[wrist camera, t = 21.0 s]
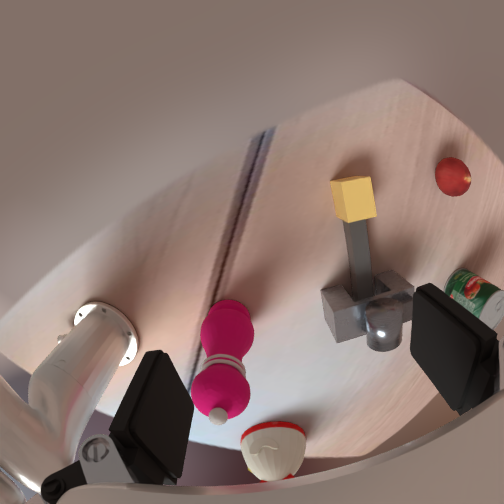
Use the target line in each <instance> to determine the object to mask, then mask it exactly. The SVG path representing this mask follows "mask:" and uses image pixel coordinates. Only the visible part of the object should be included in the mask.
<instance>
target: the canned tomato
mask: <svg viewBox="0 0 504 504" xmlns="http://www.w3.org/2000/svg"><path fill="white" fill-rule="evenodd" d="M443 292H444V293H446V294H447V295H448V296H450V297H451V298H453V299H454V300H455V301H457V302H458V303H459V304H461V305H462V306H463V307H464V308H466V309H467V310H468V311H470V312H471V313H472V314H474V315H475V316H476V317H477V318H479V319H480V320H481V321H482V322H484V323H485V324H486V325H487V326H489V327H490V328H491V329H492V330H494V329H495V328H496V327H497V325H498V324H499V323H500V321H501V320H502V317H503V315H504V291H503V290H501V289H499V288H498V287H496V286H495V285H493V284H491V283H490V282H488V281H486V280H484V279H483V278H481V277H479V276H478V275H476V274H474V273H472V272H470V271H469V270H467V269H465V268H460V269H458V270H456V271H455V272H454V273H453V274H452V275H451V276H450V277H449V279H448V280H447V282H446V284H445V287H444V291H443Z"/></svg>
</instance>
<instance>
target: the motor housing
mask: <svg viewBox="0 0 504 504" xmlns="http://www.w3.org/2000/svg"><path fill="white" fill-rule="evenodd" d="M375 287H376V296H372V297H369V298H366V299H363V300H359V301H356V302H354V301H353V300H352V298H351V297H350V296H349V294H348V293H347V292H346V290H345V289H344V288H343V287H342V285H338V286H334V287H331V288H327V289H323V290H321V296H322V303H323V309H324V316H325V320H326V322H327V324H328V326H329V328H330V330H331V332H332V334H333V336H334V338H335V340H336V342H337V343H340V342H343V341H346V340H350V339H353V338H356V337H359V336H363V335H366V334H367V345H368V346H369V347H370V348H371V349H373V350H375V351H379V352H386V351H390V350H393V349H395V348H397V347H398V346H399V345H400V343H401V341H402V325H403V323H405V322H407V321H410V320H412V311H413V294H414V286H413V285H412V284H410V283H409V282H408V281H406V280H405V279H404V278H403V277H401V276H400V275H399V274H397V273H396V272H395V271H393V270H390V271H387V272H383V273H380V274H377V275H375Z"/></svg>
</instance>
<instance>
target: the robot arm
mask: <svg viewBox="0 0 504 504" xmlns="http://www.w3.org/2000/svg"><path fill="white" fill-rule="evenodd" d="M74 325H75V327H74V328H73V329H72V330H71V331H70V332H69V333H68V334H66V335H59V336H58V343H59V344H58V345H57V346H56V347H55V348H54V350H53V351H52V352H51V353H50V354H49V355H48V356H47V357H46V358H45V360H44V361H43V362H42V363H41V364H40V365H39V366H38V368H37V369H36V370H35V371H34V373H33V374H32V376H31V379H30V382H29V388H28V399H29V405H28V404H27V403H26V402H24V401H23V400H22V399H21V398H20V397H19V396H18V394H17V393H16V392H15V391H14V390H13V389H12V388H11V387H10V385H9V384H8V383H7V382H6V381H5V380H4V378H3V377H2V376H1V375H0V467H1V468H3V469H4V470H5V471H6V472H7V473H9V474H10V475H11V476H12V477H13V478H15V479H16V480H17V481H19V482H20V483H21V484H23V485H24V486H26V487H28V488H30V489H31V490H33V491H36V492H38V493H37V494H35V495H34V496H33V497H32V498H31V499H30V500H28V501H27V502H26V499H25V496H24V494H23V492H22V491H21V489H20V488H19V487H18V486H17V485H16V484H15V483H14V482H13V481H12V480H11V479H10V478H9V477H8V476H7V475H6V474H4V472H2V471H1V470H0V504H504V336H503V337H502V338H501V339H500V341H498V340H497V339H496V338H497V333H496V332H495V331H494V330H492V329H491V328H490V327H489V326H487V325H486V324H485V323H484V322H482V321H481V320H480V319H479V318H477V317H476V316H475V315H474V314H472V313H471V312H470V311H468V310H467V309H466V308H464V307H463V306H462V305H461V304H459V303H458V302H457V301H455V300H454V299H453V298H451V297H450V296H448V295H447V294H446V293H444V292H443V291H442V290H440V289H439V288H437V287H436V286H435V285H433V284H432V283H428V284H425V285H422V286H419V287H418V288H417V289H416V292H414V294H413V311H412V330H411V343H410V352H411V355H412V356H413V358H414V359H415V360H416V362H417V363H418V364H419V366H420V367H421V368H422V370H423V371H424V372H425V373H426V375H427V376H428V377H429V379H430V380H431V381H432V383H433V384H434V386H435V387H436V388H437V390H438V391H439V392H440V394H441V395H442V396H443V398H444V399H445V400H446V402H447V403H448V405H449V406H450V408H451V409H452V410H454V411H455V410H456V411H457V412H458V413H459V415H460V417H458V418H456V419H455V420H453V421H451V422H449V423H448V424H446V425H444V426H442V427H440V428H438V429H436V430H434V431H432V432H430V433H428V434H426V435H425V436H422V437H420V438H418V439H416V440H414V441H411V442H409V443H407V444H405V445H402V446H400V447H398V448H395V449H393V450H390V451H387V452H385V453H382V454H380V455H377V456H374V457H371V458H368V459H366V460H362V461H360V462H356V463H353V464H350V465H347V466H343V467H339V468H336V469H332V470H328V471H324V472H320V473H316V474H311V475H307V476H301V477H296V478H291V479H285V480H279V481H272V482H264V483H256V484H245V485H234V486H233V485H232V486H166V485H176V484H177V478H180V477H181V476H182V471H183V465H184V459H185V454H186V448H187V443H188V438H189V433H190V428H191V422H192V417H193V412H194V404H193V401H192V399H191V397H190V395H189V394H188V392H187V390H186V388H185V386H184V384H183V383H182V381H181V379H180V377H179V375H178V373H177V371H176V369H175V367H174V365H173V363H172V361H171V359H170V357H169V355H168V354H167V353H164V352H163V351H162V350H155V351H148V352H146V353H145V355H144V357H143V359H142V361H141V363H140V365H139V367H138V369H137V371H136V373H135V375H134V377H133V379H132V381H131V383H130V385H129V387H128V389H127V391H126V393H125V395H124V397H123V400H122V402H121V404H120V406H119V408H118V410H117V412H116V415H115V417H114V419H113V421H112V423H111V425H110V428H109V431H110V432H111V433H110V435H109V436H107V435H103V434H97V435H94V436H91V437H89V438H88V439H86V440H85V441H84V442H83V443H82V445H81V446H80V448H79V452H78V454H79V460H78V461H77V462H75V463H74V458H75V454H76V449H77V446H78V443H79V440H80V437H81V435H82V432H83V430H84V429H85V426H86V424H87V422H88V420H89V419H90V417H91V414H92V413H93V411H94V409H95V407H96V406H97V404H98V402H99V400H100V398H101V397H102V395H103V393H104V391H105V389H106V388H107V386H108V384H109V382H110V381H111V379H112V377H113V375H114V374H115V372H116V370H117V368H118V367H119V366H121V365H125V364H128V363H130V362H131V361H132V360H133V359H134V357H135V356H136V354H137V352H138V347H139V343H138V337H137V334H136V331H135V329H134V327H133V326H132V324H131V322H130V321H129V320H128V319H127V318H126V316H125V315H123V314H122V313H121V312H120V311H119V310H117V309H116V308H114V307H112V306H110V305H109V304H106V303H102V302H89V303H87V304H85V305H83V306H82V307H81V308H80V309H79V310H78V312H77V313H76V316H75V322H74ZM471 408H472V409H471ZM470 409H471V410H470ZM469 410H470V411H469ZM467 411H468V412H467ZM465 412H467V413H465ZM464 413H465V414H464ZM462 414H463V415H462ZM163 484H165V485H163ZM39 493H41V495H40V494H39Z"/></svg>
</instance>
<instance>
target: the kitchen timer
mask: <svg viewBox="0 0 504 504" xmlns="http://www.w3.org/2000/svg"><path fill="white" fill-rule="evenodd" d="M305 448H306V438H305V433H304V431H303V429H302V428H301V427H299V426H298V425H296V424H293V423H289V422H281V421H276V422H266V423H261V424H258V425H255V426H252V427H251V428H249V429H247V430H246V431H245V432H244V433H243V434H242V437H241V450H242V453H243V456H244V459H245V461H246V463H247V466H248V470H249V471H250V472H252V473H253V474H254V475H255V476H257V477H258V478H259V479H260V480H261V482H260V483H264V482H272V481H279V480H285V479H291V478H295V477H294V476H293V475H294V474H295V473H296V472H297V470H298V469H299V467H300V466H301V464H302V461H303V458H304V454H305Z"/></svg>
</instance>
